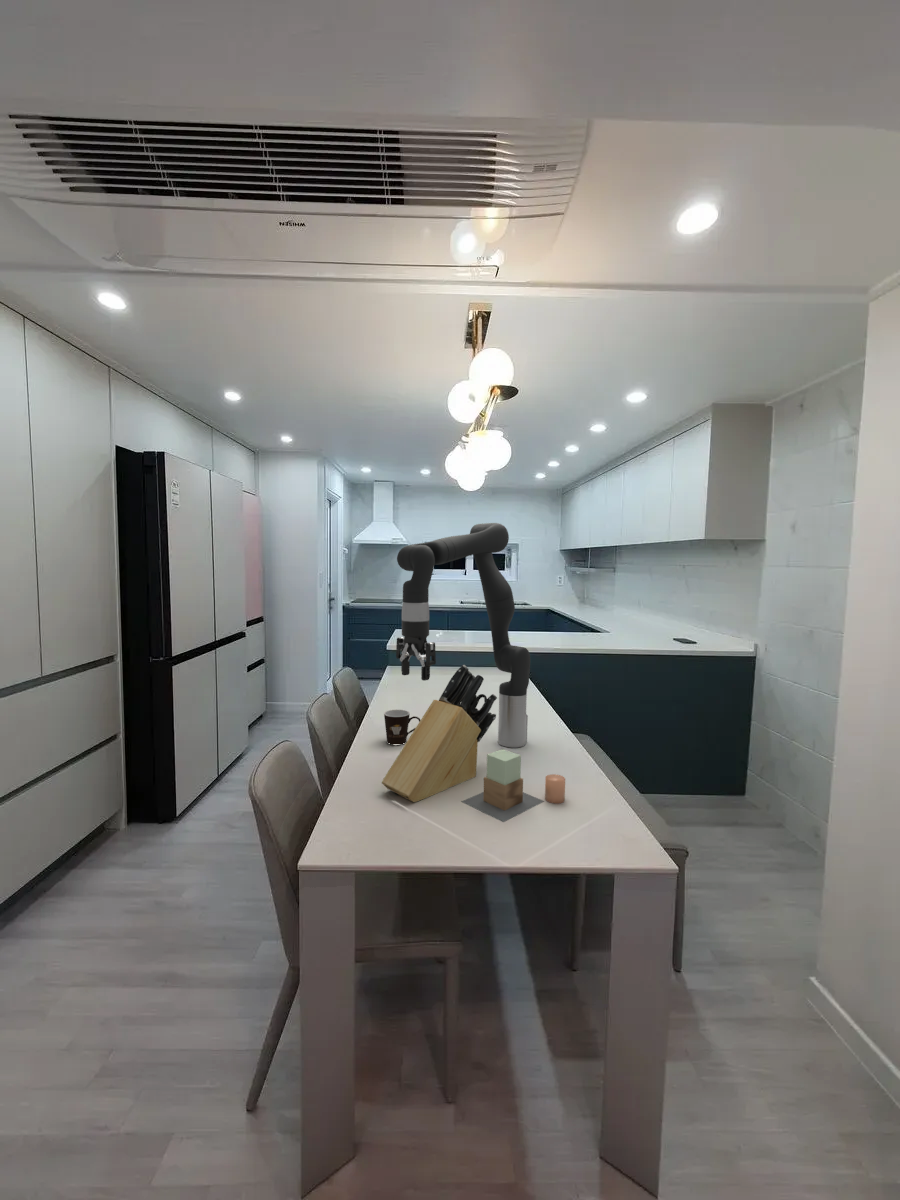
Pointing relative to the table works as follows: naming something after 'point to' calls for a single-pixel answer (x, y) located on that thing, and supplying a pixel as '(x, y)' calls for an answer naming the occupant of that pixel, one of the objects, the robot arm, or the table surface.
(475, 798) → the mat
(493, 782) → the bottom block
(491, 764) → the top block
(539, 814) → the table surface
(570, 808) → the table surface
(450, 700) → the knife block
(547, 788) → the tan rounded cylinder
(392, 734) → the coffee mug
